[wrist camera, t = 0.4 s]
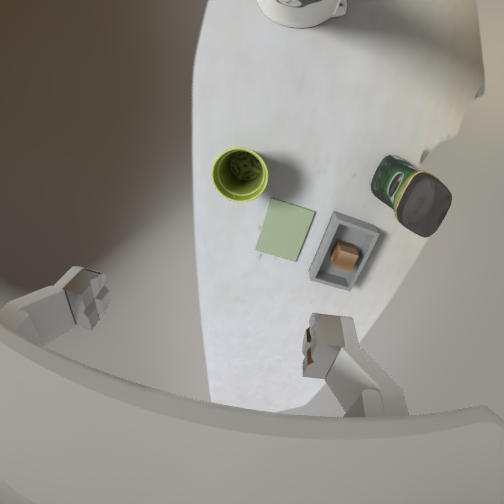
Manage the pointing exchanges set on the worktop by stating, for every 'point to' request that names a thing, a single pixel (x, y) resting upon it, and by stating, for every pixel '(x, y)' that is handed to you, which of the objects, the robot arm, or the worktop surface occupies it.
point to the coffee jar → (411, 195)
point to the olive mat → (284, 229)
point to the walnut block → (343, 255)
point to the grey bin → (350, 232)
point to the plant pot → (239, 175)
